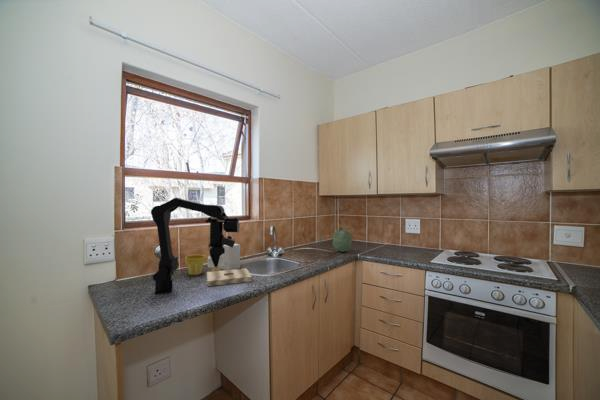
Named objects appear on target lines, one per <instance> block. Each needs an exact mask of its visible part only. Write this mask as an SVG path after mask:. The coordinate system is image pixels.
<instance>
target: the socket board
mask: <svg viewBox="0 0 600 400" xmlns="http://www.w3.org/2000/svg"><path fill="white" fill-rule="evenodd" d="M249 281H250V282H253V275H252V273H250V271H249V270H248V268H246V267H245V268H238V269H234V270H223V269H222V270H220V271H215V270H214V272H212V271H207V272H206V285H207V287H212V286H222V285H231V284H232V285H233V284H241V283H248V282H249ZM250 282H249V283H250Z"/></svg>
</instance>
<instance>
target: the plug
mask: <svg viewBox="0 0 600 400" xmlns="http://www.w3.org/2000/svg"><path fill="white" fill-rule="evenodd" d="M220 266H224V256H223V255H221V256H220V258H219V262H218V266H217V267H215V266H214V264H213V261H212V259H211V256H207V268H211V272H214V271H221V269H220Z"/></svg>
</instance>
